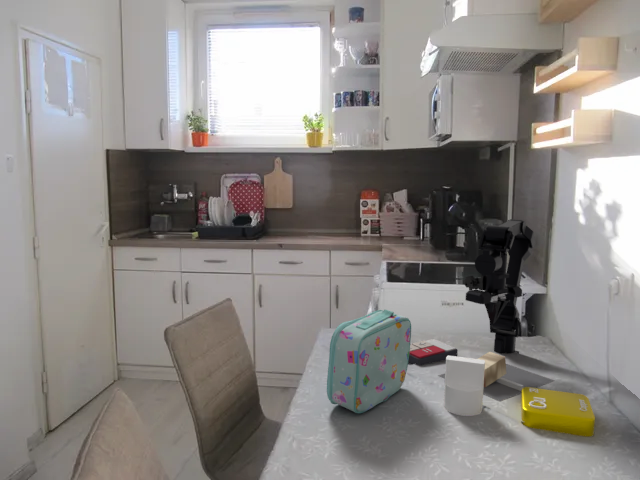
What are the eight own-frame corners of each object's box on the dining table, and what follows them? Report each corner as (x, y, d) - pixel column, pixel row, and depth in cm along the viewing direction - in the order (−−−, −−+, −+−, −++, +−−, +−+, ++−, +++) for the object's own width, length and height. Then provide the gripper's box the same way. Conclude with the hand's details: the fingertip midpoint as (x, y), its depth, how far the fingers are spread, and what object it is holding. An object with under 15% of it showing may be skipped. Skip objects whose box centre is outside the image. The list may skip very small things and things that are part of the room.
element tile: (595, 440, 121) (596, 418, 120) (521, 428, 125) (522, 408, 125) (586, 411, 135) (587, 392, 134) (520, 402, 139) (521, 383, 139)
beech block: (489, 351, 153) (468, 364, 148) (505, 356, 149) (483, 370, 144) (490, 367, 154) (469, 381, 149) (506, 373, 150) (485, 387, 145)
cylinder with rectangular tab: (483, 403, 137) (486, 356, 136) (480, 418, 129) (484, 368, 127) (445, 397, 140) (448, 351, 139) (441, 412, 132) (443, 363, 130)
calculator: (395, 345, 169) (433, 336, 176) (395, 359, 170) (433, 349, 177) (418, 357, 160) (458, 346, 167) (418, 371, 160) (458, 360, 168)
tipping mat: (492, 361, 167) (492, 355, 166) (554, 383, 151) (555, 376, 150) (437, 378, 153) (438, 371, 152) (499, 404, 137) (500, 396, 136)
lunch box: (378, 376, 153) (380, 300, 150) (412, 385, 147) (415, 306, 144) (321, 410, 132) (323, 321, 129) (358, 422, 126) (361, 330, 123)
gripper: (492, 262, 171) (489, 312, 173) (451, 268, 160) (449, 321, 162) (524, 268, 162) (521, 320, 164) (484, 274, 151) (480, 330, 153)
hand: (492, 322), depth 161 cm, fingers closed
